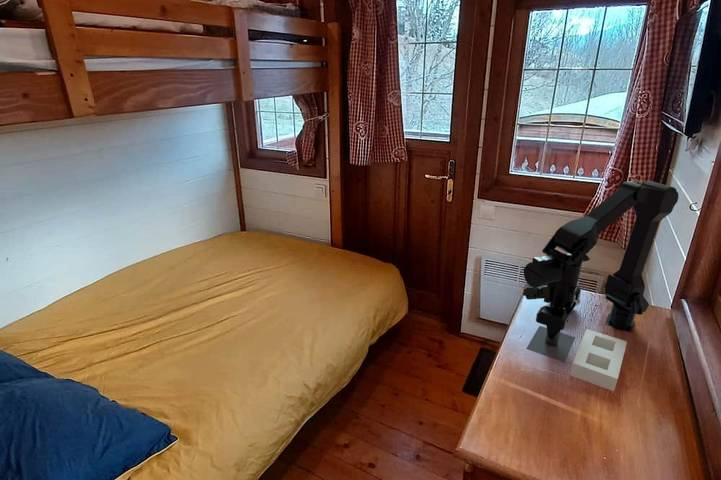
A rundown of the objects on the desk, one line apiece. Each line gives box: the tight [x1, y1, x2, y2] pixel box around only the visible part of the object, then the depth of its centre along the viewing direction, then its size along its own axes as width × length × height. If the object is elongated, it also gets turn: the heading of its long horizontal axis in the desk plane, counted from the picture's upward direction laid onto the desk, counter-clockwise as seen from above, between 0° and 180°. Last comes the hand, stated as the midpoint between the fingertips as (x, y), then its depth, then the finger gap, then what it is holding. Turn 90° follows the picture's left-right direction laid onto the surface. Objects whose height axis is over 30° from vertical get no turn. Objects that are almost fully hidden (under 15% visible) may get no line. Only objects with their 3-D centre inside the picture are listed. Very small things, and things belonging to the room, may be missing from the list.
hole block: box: [569, 329, 628, 392], centre depth 103 cm, size 16×9×4 cm, turn 144°
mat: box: [525, 325, 576, 363], centre depth 111 cm, size 12×9×1 cm
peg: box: [545, 308, 562, 347], centre depth 109 cm, size 3×3×10 cm
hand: (553, 332), depth 109 cm, fingers open, 5 cm apart
